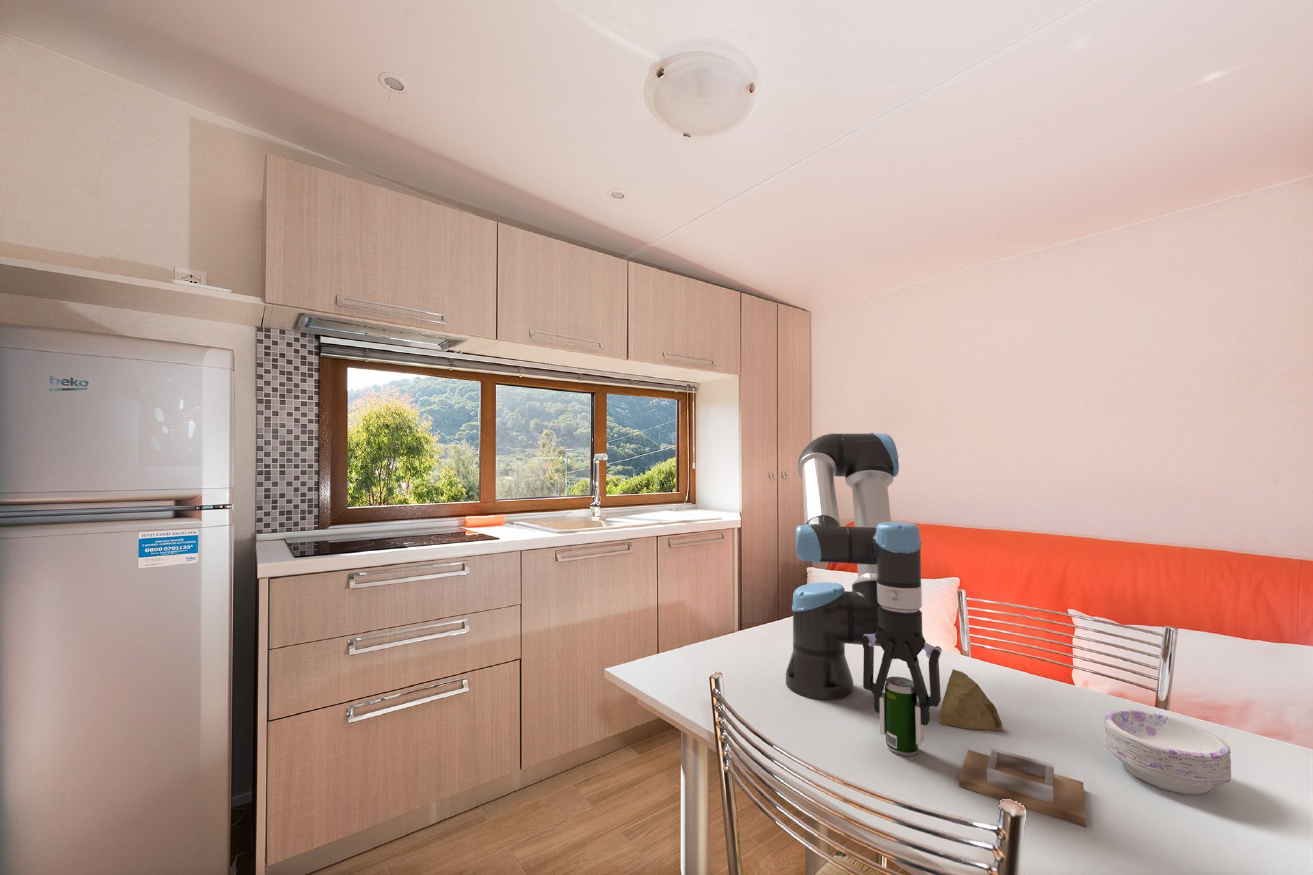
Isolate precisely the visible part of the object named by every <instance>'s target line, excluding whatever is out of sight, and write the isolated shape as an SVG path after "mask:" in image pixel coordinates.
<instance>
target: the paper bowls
mask: <svg viewBox="0 0 1313 875" xmlns="http://www.w3.org/2000/svg"><path fill="white" fill-rule="evenodd" d="M1103 718H1104V719H1103V720H1104V721H1103V724H1104V743H1105V746H1106V749H1107V750H1108V751H1109V752H1110V753H1111V754H1112V755H1113V756H1114V757H1115V758H1117V759H1118V760H1120V761H1121V762H1122V765H1123V766H1124V767H1125V768H1126V769H1127V771H1128V772H1130V773H1131V775H1133V776H1134V777H1136V778H1137V779H1139V780H1142V781H1143V782H1145V783H1147V784H1150V785H1151V786H1154V787H1157V788H1158V789H1159V788H1160V789H1162V790H1165V791H1169V792H1173V793H1178V794H1183V795H1191V796H1192V795H1193V796H1194V795H1196V796H1197V795H1203V794H1206V793H1208V792H1209V791H1211V789H1212V788H1213V787H1219V786H1221V787H1222V786H1224V785H1227V784H1229V783H1230V782H1231V779H1232V770H1231V769H1232V760H1231V753H1232V752H1231V749H1230V747H1229V745H1228V744H1227V743H1226V742H1225V741H1224V740H1223V739H1222V738H1220V737H1219V736H1218V735H1216V734H1214V732H1211V731H1210V730H1207V729H1205V728H1202V727H1200V726H1198V725H1196V724H1193V723H1191V722H1189V721H1185V720H1182V719H1179V718H1176V717H1172V716H1169V715H1165V714H1162V713H1161V714H1160V713H1156V712H1150V711H1145V710H1138V709H1116V710H1111V711H1108V712H1107V713H1106V714H1105V715H1104V717H1103Z"/></svg>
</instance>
